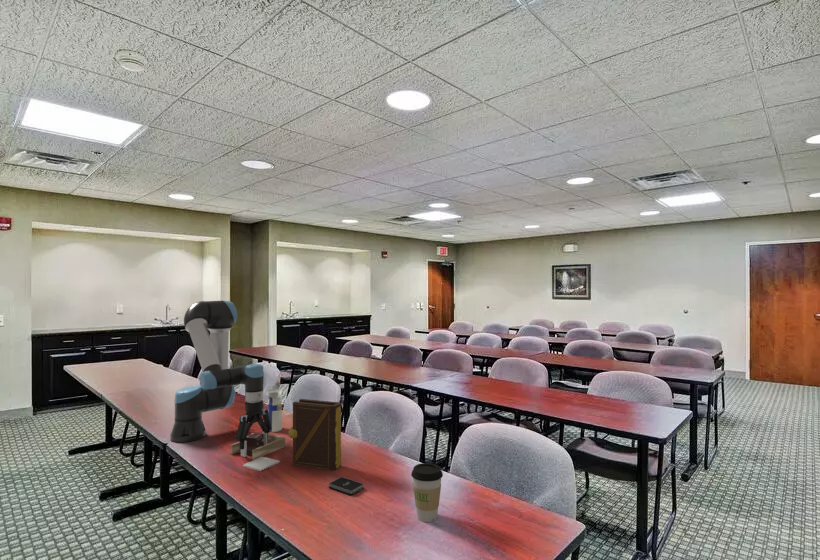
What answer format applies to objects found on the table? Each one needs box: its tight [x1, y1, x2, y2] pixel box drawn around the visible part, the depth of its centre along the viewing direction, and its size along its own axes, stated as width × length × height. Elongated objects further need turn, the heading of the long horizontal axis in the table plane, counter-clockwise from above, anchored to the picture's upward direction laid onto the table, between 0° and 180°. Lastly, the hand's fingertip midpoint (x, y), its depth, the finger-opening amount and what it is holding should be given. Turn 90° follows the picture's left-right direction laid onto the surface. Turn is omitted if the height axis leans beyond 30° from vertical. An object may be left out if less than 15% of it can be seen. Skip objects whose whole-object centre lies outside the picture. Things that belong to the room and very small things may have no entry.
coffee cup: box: [411, 462, 444, 523], centre depth 139 cm, size 10×10×15 cm
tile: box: [242, 456, 281, 472], centre depth 180 cm, size 10×10×1 cm
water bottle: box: [265, 380, 284, 433], centre depth 224 cm, size 8×9×25 cm
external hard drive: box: [328, 476, 365, 497], centre depth 158 cm, size 7×11×2 cm, turn 56°
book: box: [288, 398, 342, 472], centre depth 180 cm, size 22×8×25 cm, turn 71°
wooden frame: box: [230, 432, 286, 461], centre depth 195 cm, size 14×18×4 cm
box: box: [245, 432, 264, 456], centre depth 193 cm, size 6×6×7 cm
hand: (254, 451), depth 193 cm, fingers open, 11 cm apart
